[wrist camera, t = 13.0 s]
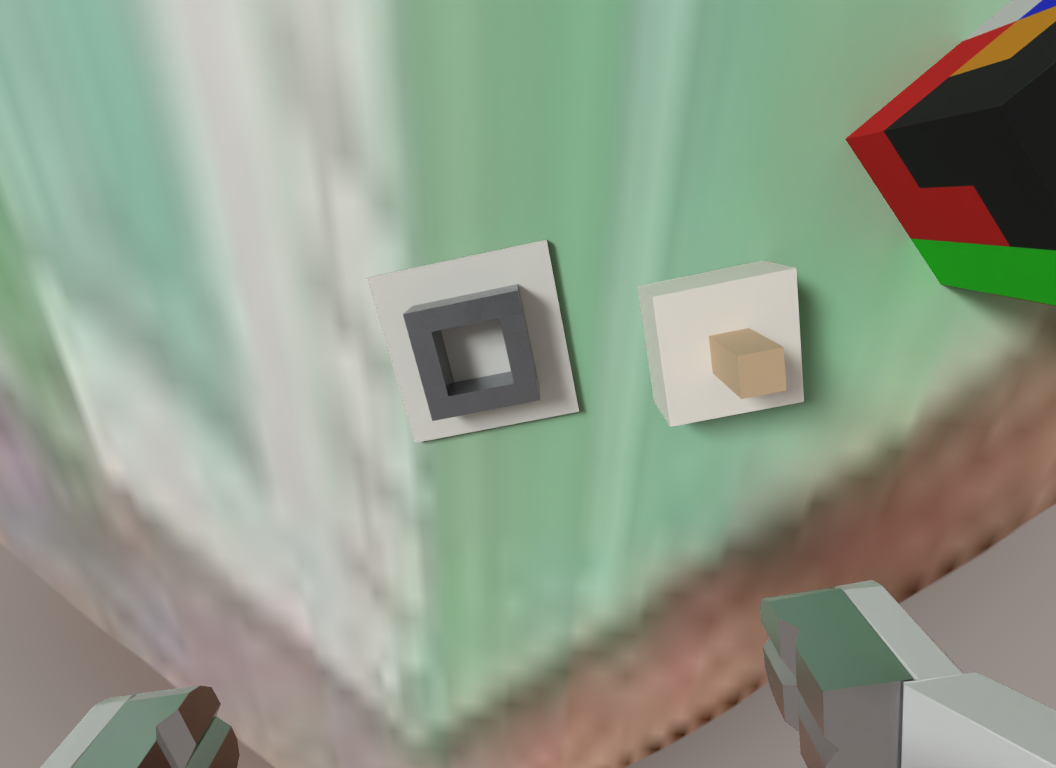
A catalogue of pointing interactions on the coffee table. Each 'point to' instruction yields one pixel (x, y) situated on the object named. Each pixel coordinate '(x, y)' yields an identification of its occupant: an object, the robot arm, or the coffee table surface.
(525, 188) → the coffee table surface
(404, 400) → the coaster
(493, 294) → the ring
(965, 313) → the coffee table surface
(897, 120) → the puzzle toy
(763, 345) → the peg stand
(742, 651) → the coffee table surface
